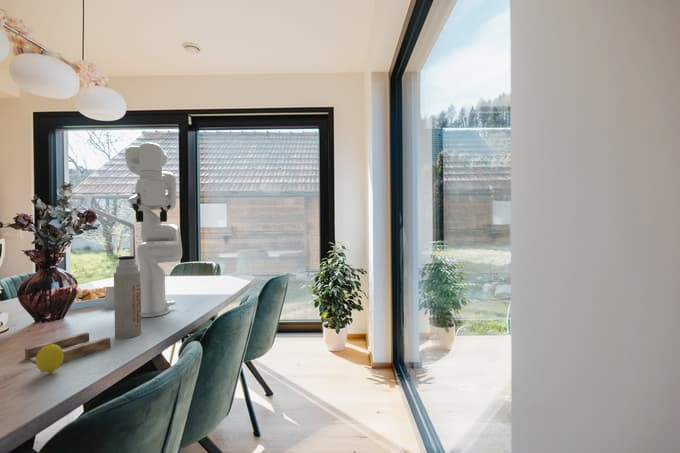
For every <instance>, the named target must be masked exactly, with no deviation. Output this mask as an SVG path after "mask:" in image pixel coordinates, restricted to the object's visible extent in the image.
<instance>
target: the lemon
mask: <svg viewBox="0 0 680 453" xmlns="http://www.w3.org/2000/svg"><path fill="white" fill-rule="evenodd" d="M63 357H64V355H63V351H62V349H61V347H60V346H58V345H55V344H52V343H49V344H48V345H46V346H44V347H43V348H42V349H41V350H40V351H39V352H38V354H37V357H36V362H35V364H36V368H37V369H38V370H39V371H40V372H42V373H47V374H49V375H50V374H53V372H55V371H56V370H57V369H58V368H59V369H60V367H61V366H62V364H63V363H62V362H63Z"/></svg>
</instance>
